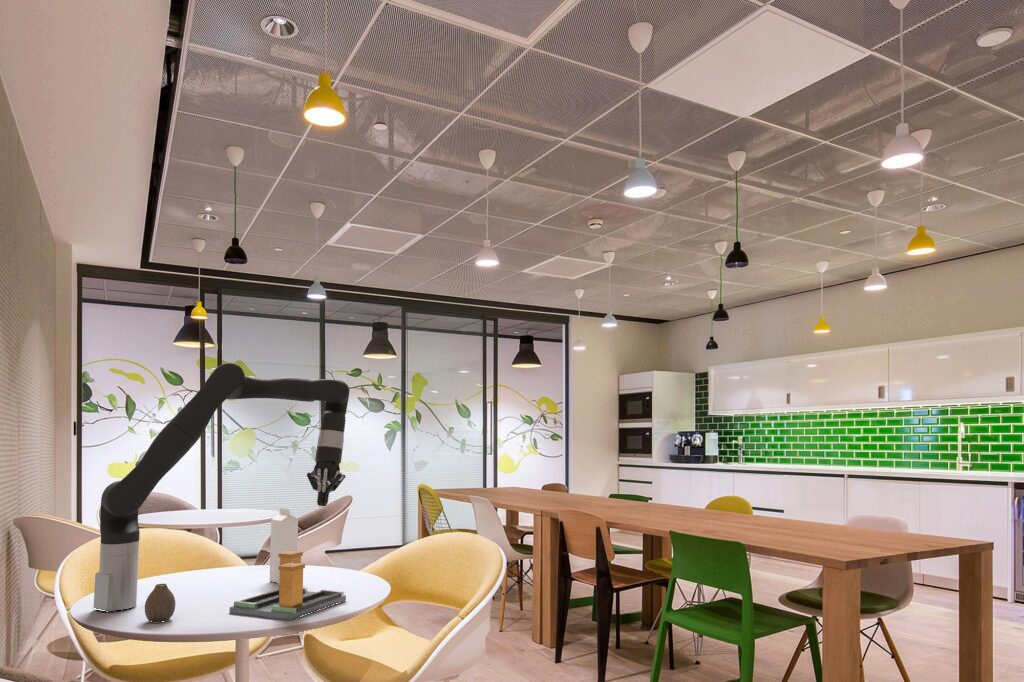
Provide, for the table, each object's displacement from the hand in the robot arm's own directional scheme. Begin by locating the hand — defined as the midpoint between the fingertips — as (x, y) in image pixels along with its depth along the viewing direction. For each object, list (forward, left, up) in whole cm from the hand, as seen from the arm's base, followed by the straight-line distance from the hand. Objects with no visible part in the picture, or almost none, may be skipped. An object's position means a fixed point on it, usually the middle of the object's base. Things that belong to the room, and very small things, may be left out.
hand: (321, 505), depth 216 cm
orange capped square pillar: (-11, +1, -23) cm, 25 cm away
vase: (-43, +13, -25) cm, 51 cm away
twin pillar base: (-18, -6, -24) cm, 31 cm away
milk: (+5, +21, -25) cm, 33 cm away
